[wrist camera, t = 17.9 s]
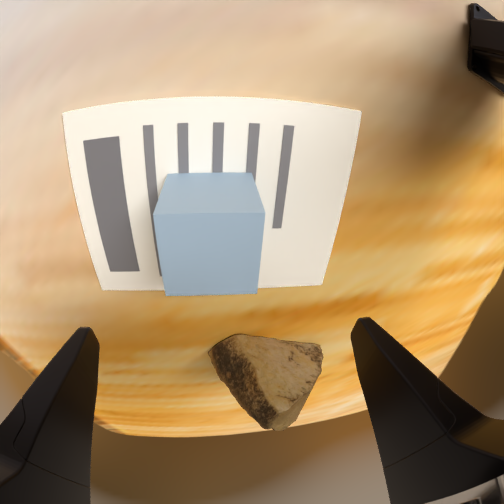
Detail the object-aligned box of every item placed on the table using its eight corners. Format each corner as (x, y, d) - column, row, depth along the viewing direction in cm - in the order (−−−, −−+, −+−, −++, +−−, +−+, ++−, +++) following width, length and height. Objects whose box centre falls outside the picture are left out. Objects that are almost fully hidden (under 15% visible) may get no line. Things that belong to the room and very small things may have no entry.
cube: (251, 172, 17) (265, 212, 13) (246, 241, 20) (257, 293, 16) (167, 173, 16) (153, 214, 12) (173, 243, 19) (165, 295, 15)
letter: (360, 110, 15) (362, 111, 15) (321, 283, 23) (321, 285, 23) (63, 112, 13) (62, 112, 12) (102, 288, 21) (101, 290, 21)
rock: (353, 349, 27) (302, 326, 21) (333, 429, 24) (272, 434, 18) (273, 339, 34) (213, 315, 28) (255, 404, 31) (189, 395, 25)
